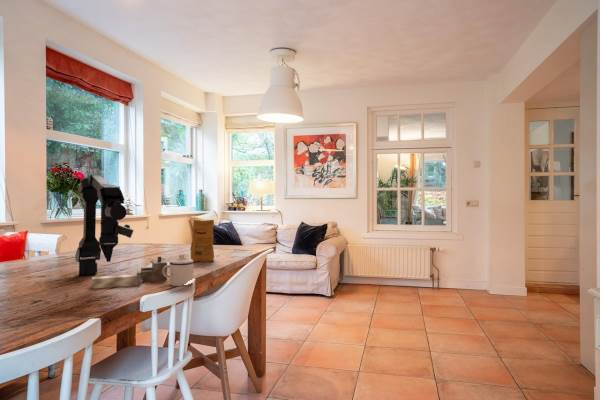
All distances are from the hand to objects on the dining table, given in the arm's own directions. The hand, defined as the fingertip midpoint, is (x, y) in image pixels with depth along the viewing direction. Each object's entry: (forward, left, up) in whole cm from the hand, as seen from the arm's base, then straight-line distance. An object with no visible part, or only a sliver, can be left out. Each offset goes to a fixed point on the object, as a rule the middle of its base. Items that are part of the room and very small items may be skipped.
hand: (108, 259), depth 148 cm
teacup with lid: (+25, -6, -10) cm, 27 cm away
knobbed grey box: (+17, +8, -10) cm, 21 cm away
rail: (+3, 0, -10) cm, 10 cm away
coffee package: (+45, +46, -10) cm, 65 cm away
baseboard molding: (+19, +31, -11) cm, 38 cm away
